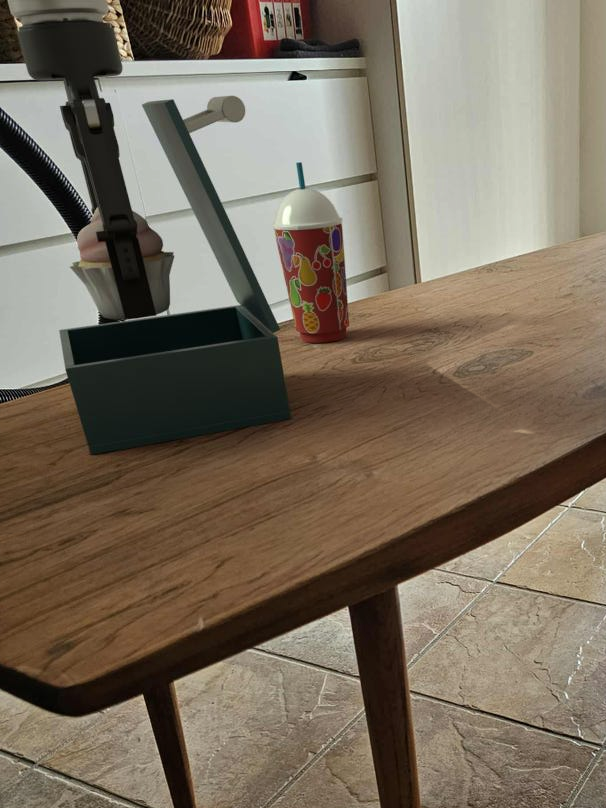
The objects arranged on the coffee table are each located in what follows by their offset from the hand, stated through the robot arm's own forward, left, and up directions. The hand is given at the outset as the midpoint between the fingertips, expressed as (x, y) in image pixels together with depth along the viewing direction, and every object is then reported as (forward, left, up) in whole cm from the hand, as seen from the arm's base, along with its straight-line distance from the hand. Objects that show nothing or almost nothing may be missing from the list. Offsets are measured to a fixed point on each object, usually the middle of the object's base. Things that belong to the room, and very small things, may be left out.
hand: (135, 307), depth 85 cm
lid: (+8, 0, +7) cm, 11 cm away
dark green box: (+2, 0, -10) cm, 11 cm away
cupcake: (0, 0, -1) cm, 1 cm away
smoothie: (+23, +22, -11) cm, 33 cm away
